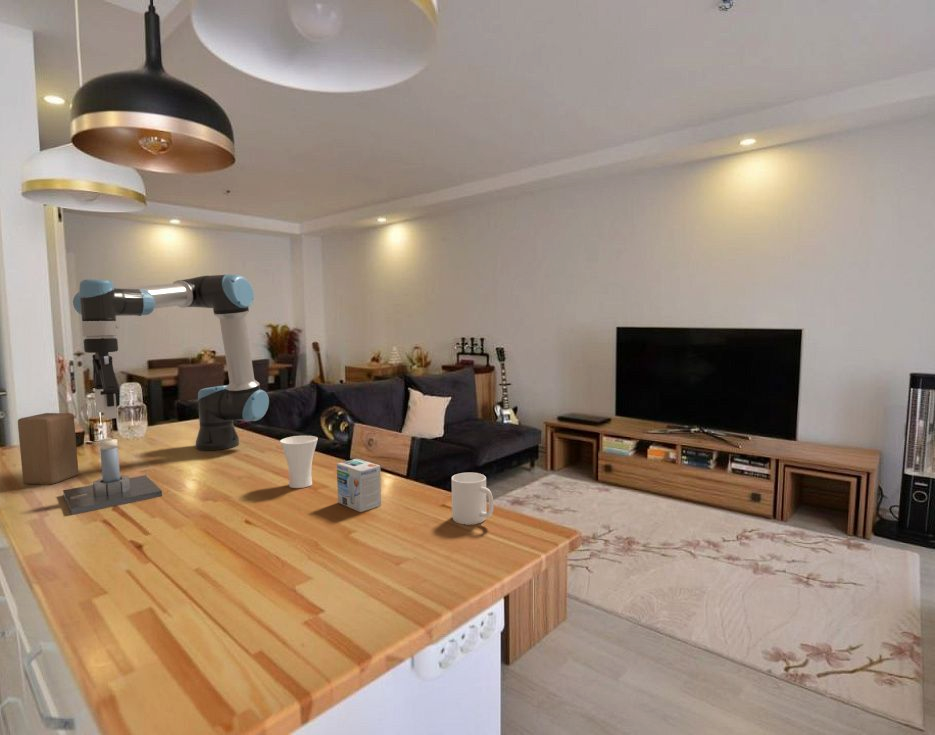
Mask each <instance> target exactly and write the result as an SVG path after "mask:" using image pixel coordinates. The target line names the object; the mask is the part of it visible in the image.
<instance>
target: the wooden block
mask: <svg viewBox="0 0 935 735" xmlns="http://www.w3.org/2000/svg"><path fill="white" fill-rule="evenodd" d="M17 429H18V430H17V431H18V441H19V451H20V453H19V454H20V461H21V472H22V481H23V483H24V484H28V485H29V484H31V485H34V484H35V485H53V484H57V483H59V482H63V481H65V480H68V479H71V478H73V477H76V476H77V475H79V464H78V448H77V440H76V439H77V438H76V425H75V416H74V414H73V413H71V412H69V413H68V412H63V413H62V412H44V413H40V414H35V415H30V416H25V417H20V418H19V419H17Z"/></svg>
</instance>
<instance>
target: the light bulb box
mask: <svg viewBox="0 0 935 735" xmlns="http://www.w3.org/2000/svg"><path fill="white" fill-rule="evenodd" d="M381 475H382V474H381V465H380V464H376V463H373V462H370V461H366V460H363V459H360V458H353V459H350V460H347V461H342V462H339V463H338V462H337V463H336V477H337V479H336V482H337V483H336V484H337V485H336V486H337V503H338V504H340V505H343V506H345V507H348V508H350V509H352V510H353V511H356V512H359V513H363V512H367V511H370V510H372V509H375V508H379V507H381V506H382V490H381V489H382V485H381V484H382V483H381V480H382V478H381Z"/></svg>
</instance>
